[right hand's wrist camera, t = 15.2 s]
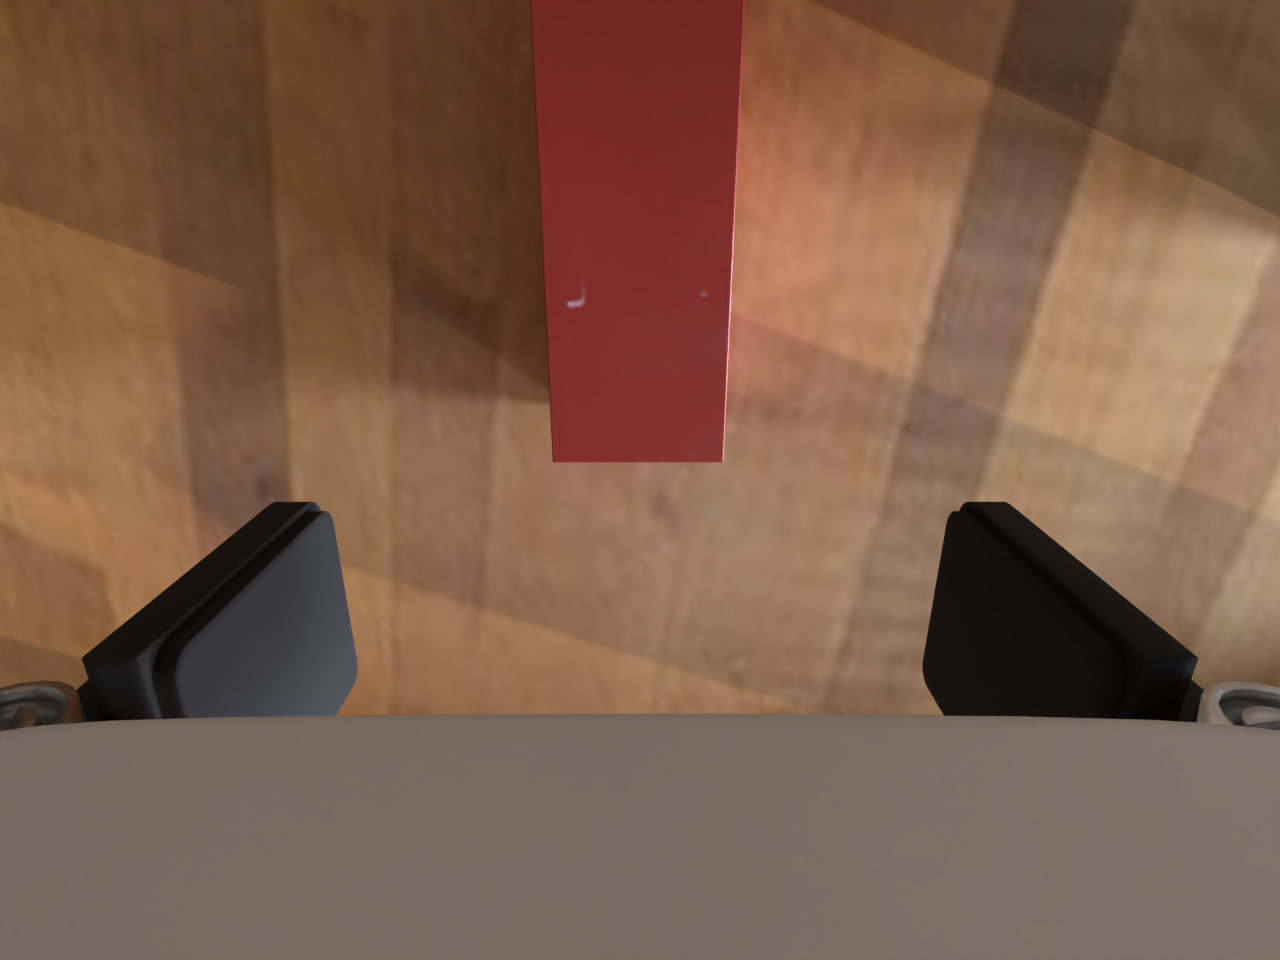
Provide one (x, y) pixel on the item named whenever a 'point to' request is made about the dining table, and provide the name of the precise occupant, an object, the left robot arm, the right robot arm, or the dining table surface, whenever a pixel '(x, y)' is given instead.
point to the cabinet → (637, 222)
